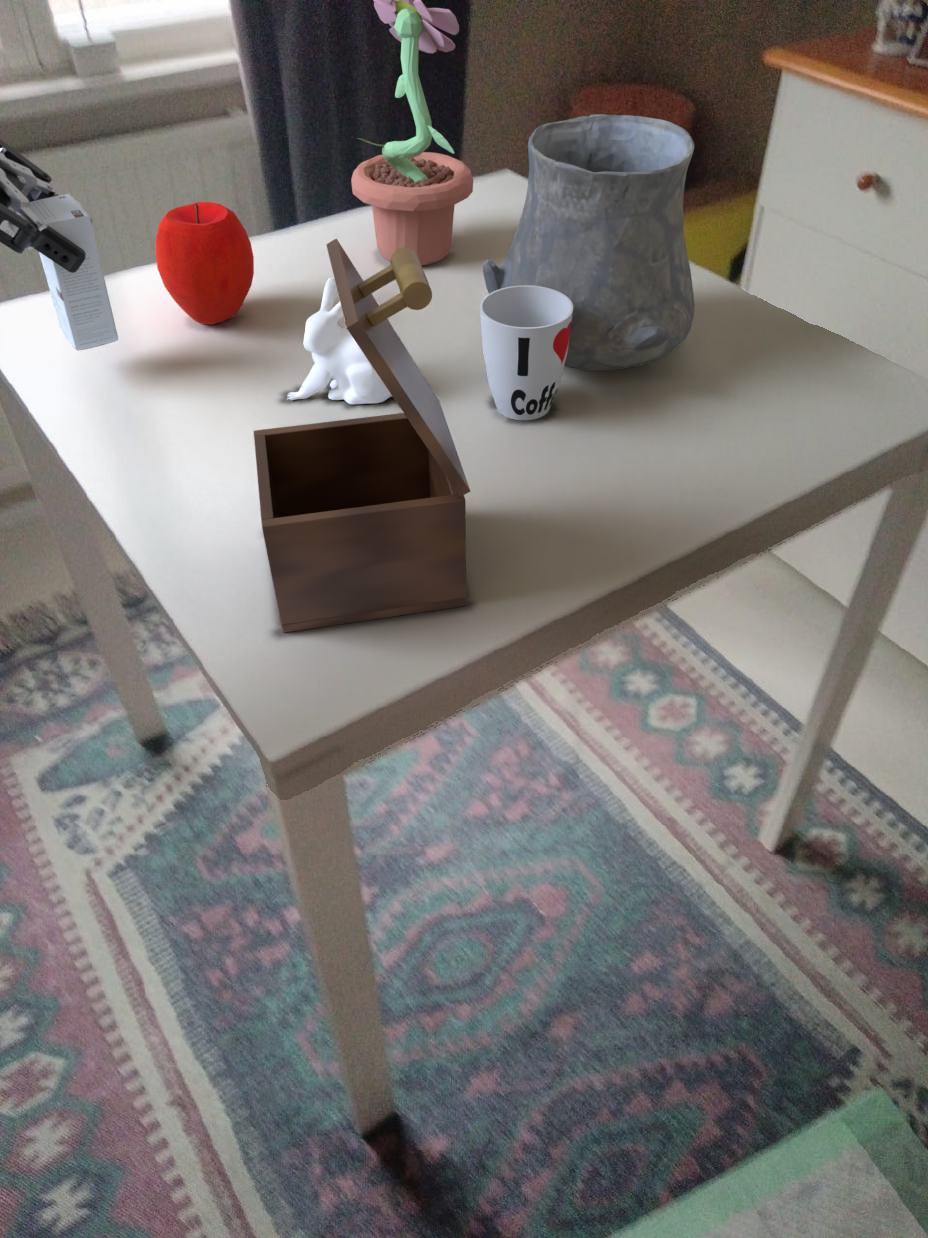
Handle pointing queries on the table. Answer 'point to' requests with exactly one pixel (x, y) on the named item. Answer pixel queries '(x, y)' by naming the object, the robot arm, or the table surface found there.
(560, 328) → the cup
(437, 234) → the decorative flower
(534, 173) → the vessel
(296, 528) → the chest
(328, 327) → the rabbit figurine
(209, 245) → the apple
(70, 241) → the robot arm
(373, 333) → the lid
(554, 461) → the table surface
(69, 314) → the cosmetic box
